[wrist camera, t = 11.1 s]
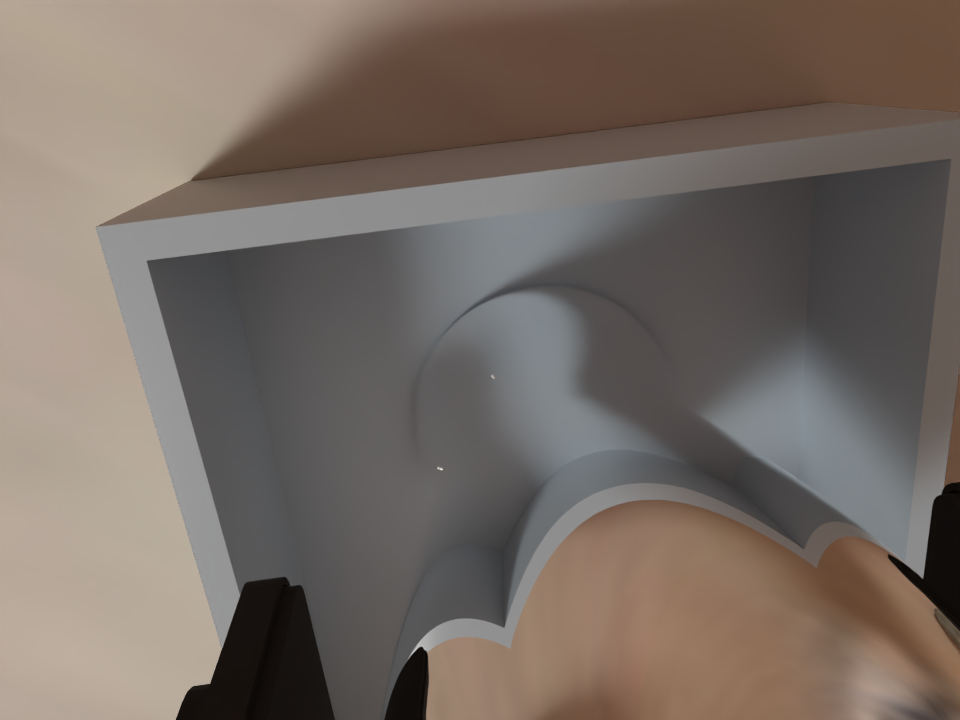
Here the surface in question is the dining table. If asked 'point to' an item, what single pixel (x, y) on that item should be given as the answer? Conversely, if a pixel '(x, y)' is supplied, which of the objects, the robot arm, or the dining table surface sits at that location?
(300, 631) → the robot arm
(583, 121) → the dining table surface
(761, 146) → the tote
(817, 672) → the beer glass
